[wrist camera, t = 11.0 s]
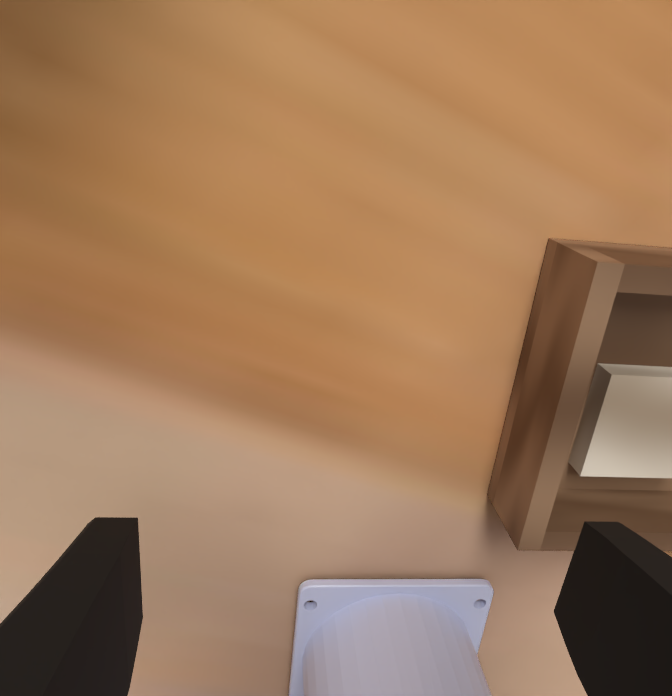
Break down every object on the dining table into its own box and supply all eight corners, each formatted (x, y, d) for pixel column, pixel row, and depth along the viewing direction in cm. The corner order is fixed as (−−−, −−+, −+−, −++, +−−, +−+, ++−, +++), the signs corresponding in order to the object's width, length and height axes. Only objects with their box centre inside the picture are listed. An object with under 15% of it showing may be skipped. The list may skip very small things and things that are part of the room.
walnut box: (720, 499, 23) (780, 551, 21) (487, 494, 22) (517, 550, 19) (824, 260, 20) (913, 285, 17) (549, 238, 18) (597, 261, 16)
